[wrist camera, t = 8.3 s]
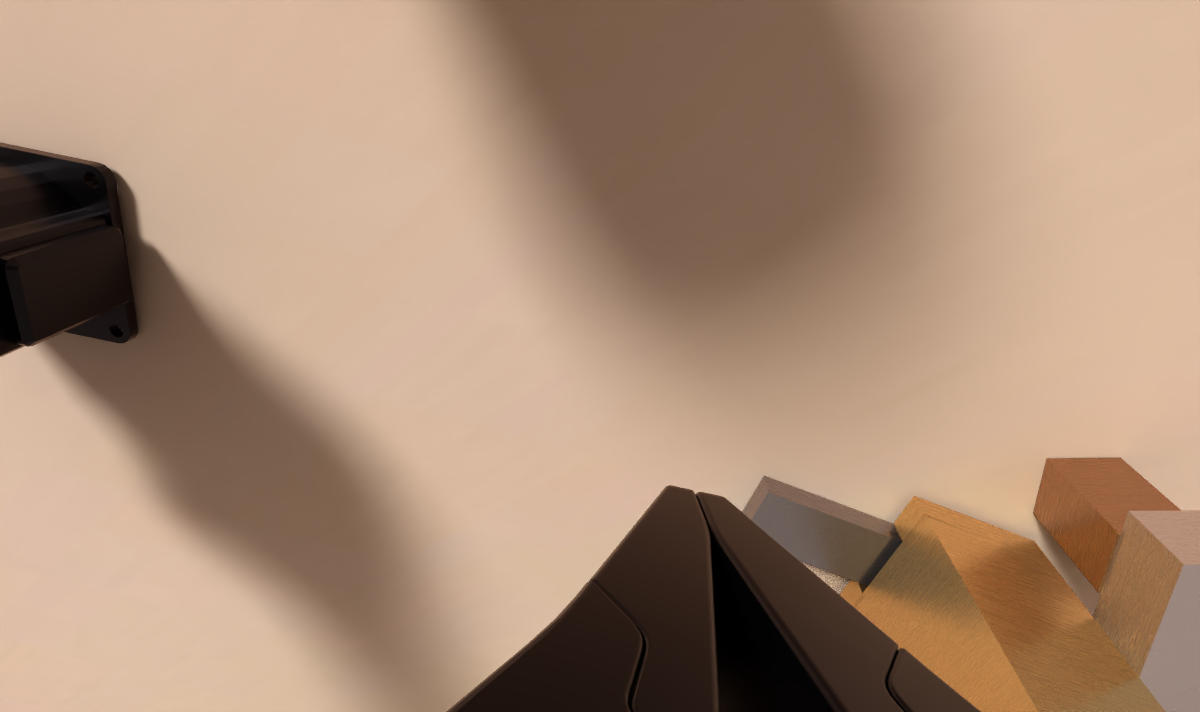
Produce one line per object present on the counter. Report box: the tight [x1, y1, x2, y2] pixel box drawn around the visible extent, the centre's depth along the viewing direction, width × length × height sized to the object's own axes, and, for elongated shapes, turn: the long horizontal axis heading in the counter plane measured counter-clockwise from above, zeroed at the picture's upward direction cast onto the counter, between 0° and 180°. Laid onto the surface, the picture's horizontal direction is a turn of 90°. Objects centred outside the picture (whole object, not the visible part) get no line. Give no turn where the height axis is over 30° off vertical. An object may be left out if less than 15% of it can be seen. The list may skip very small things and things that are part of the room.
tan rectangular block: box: [840, 496, 1166, 712], centre depth 20 cm, size 5×6×10 cm
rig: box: [742, 458, 1200, 712], centre depth 21 cm, size 13×9×6 cm, turn 69°
